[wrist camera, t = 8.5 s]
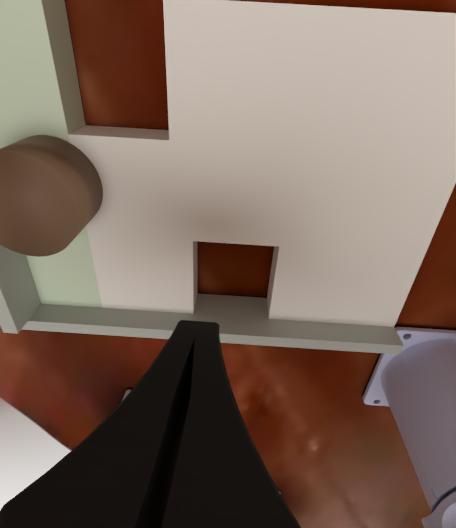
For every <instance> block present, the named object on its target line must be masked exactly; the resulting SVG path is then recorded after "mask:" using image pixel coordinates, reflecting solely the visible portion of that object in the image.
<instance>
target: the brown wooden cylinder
mask: <svg viewBox="0 0 456 528" xmlns="http://www.w3.org/2000/svg"><path fill="white" fill-rule="evenodd" d="M102 199H103V188H102V183H101V179H100V177H99V174H98V172H97V170H96V168H95V166H94V165H93V164H92V162H91V161H90V160H89V158H88V157H87V156H86V155H85V154H84V153H83V152H82V151H81V150H79V149H78V148H77V147H75V146H74V145H72V144H71V143H69V142H67V141H65V140H63V139H60V138H57V137H54V136H49V135H34V136H30V137H27V138H25V139H22V140H20V141H18V142H15V143H13V144H11V145H8V146H6V147H3V148H1V149H0V245H2V246H4V247H5V248H7V249H9V250H12V251H14V252H17V253H20V254H23V255H28V256H37V257H41V256H50V255H53V254H56V253H58V252H61V251H62V250H64V249H65V248H66V247H67V246H68V245H69V244H70V243H71V242H72V241H73V240H74V239H75V237H76V236H77V235H78V234H79V233H80V232H81V231H82V230H83V228H84V227H85V226H86V225H87V224H88V223H89V222H90V221H91V219H92V218H93V217H94V216H95V215H96V214H97V212H98V211H99V209H100V207H101V204H102Z"/></svg>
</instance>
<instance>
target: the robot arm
mask: <svg viewBox="0 0 456 528" xmlns="http://www.w3.org/2000/svg"><path fill="white" fill-rule="evenodd" d="M219 326H220V325H219V324H218V323H217V322H203V321H190V320H180V321H179V322H178V323H177V325H176V327H175V329H174V331H173V333H172V335H171V336H170V338H169V340H168V341H167V343H166V344H165V346H164V347H163V349H162V351H161V352H160V353H159V355H158V356H157V358H156V359H155V361H154V362H153V363H152V365H151V366H150V368H149V369H148V370H147V372H146V373H145V374H144V375H143V377H142V378H141V379H140V380H139V382H138V383H137V384H136V386H135V387H134V388H133V389H132V390H131V392H130V393H129V394H128V395H127V396H126V397H125V399H124V400H123V401H122V402H121V403H120V404H119V405H118V406H117V407H116V408H115V410H114V411H113V412H112V413H111V414H110V415H109V416H108V417H107V418H106V419H105V420H104V421H103V422H102V423H101V424H100V425H99V426H98V427H97V428H96V429H95V430H94V431H93V432H92V433H91V434H90V435H89V436H88V437H87V438H85V439H84V440H83V441H82V442H81V443H80V444H79V445H78V446H76V447H75V448H74V449H73V450H72V451H71V452H70V453H69V454H67V455H66V456H65V457H64V458H63V459H62V460H60V461H59V462H58V463H57V464H56V465H55V466H54V467H52V468H51V469H50V470H49V471H47V472H46V473H45V474H44V475H42V476H41V477H40V478H39V479H37V480H36V481H35V482H33V483H32V484H31V485H29V486H28V487H27V488H26V489H24V490H23V491H22V492H20V493H19V494H18V495H16V496H15V497H14V498H13V499H11V500H10V501H9V502H7V503H6V504H5V505H4V506H3V508H2V509H1V511H0V528H301V527H300V525H299V524H298V522H297V520H296V519H295V517H294V516H293V514H292V512H291V511H290V509H289V508H288V506H287V504H286V503H285V501H284V499H283V498H282V496H281V494H280V493H279V491H278V489H277V487H276V485H275V484H274V482H273V480H272V478H271V477H270V475H269V473H268V471H267V469H266V467H265V465H264V463H263V461H262V459H261V457H260V455H259V453H258V451H257V449H256V447H255V445H254V443H253V441H252V439H251V437H250V435H249V432H248V430H247V428H246V426H245V423H244V421H243V419H242V416H241V414H240V411H239V409H238V406H237V403H236V400H235V398H234V395H233V392H232V389H231V386H230V382H229V379H228V376H227V372H226V368H225V364H224V360H223V356H222V351H221V345H220V336H219ZM395 330H396V332H397V333H398V335H399V337H400V339H401V341H402V343H403V345H404V347H403V349H402V351H401V353H400V354H385V353H381V355H380V357H379V360H378V362H377V364H376V367H375V369H374V371H373V374H372V376H371V379H370V381H369V383H368V386H367V388H366V390H365V393H364V395H363V401H364V403H365V404H367V405H378V406H390V409H391V412H392V414H393V417H394V419H395V422H396V424H397V427H398V429H399V432H400V434H401V437H402V439H403V442H404V444H405V447H406V449H407V452H408V454H409V457H410V459H411V462H412V465H413V467H414V470H415V472H416V475H417V477H418V480H419V482H420V485H421V487H422V490H423V492H424V495H425V497H426V500H427V502H428V505H429V507H430V510H431V512H432V514H430V515H429V516H427V517H424V518H422V520H421V521H422V524H423V526H424V528H456V330H441V329H425V328H410V327H396V328H395ZM405 334H407V335H405Z"/></svg>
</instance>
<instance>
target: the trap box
mask: <svg viewBox="0 0 456 528" xmlns="http://www.w3.org/2000/svg"><path fill="white" fill-rule="evenodd" d="M163 9H164V31H165V54H166V77H167V99H168V122H169V130H158V129H141V128H124V127H108V126H91V125H86V124H85V118H84V112H83V106H82V100H81V95H80V89H79V83H78V77H77V71H76V65H75V59H74V53H73V47H72V42H71V36H70V30H69V24H68V18H67V12H66V6H65V0H0V149H1V148H3V147H6V146H8V145H11V144H13V143H15V142H18V141H20V140H22V139H25V138H27V137H30V136H34V135H49V136H54V137H57V138H60V139H63V140H65V141H67V142H69V143H71V144H72V145H74V146H75V147H77V148H78V149H79V150H81V151H82V152H83V153H84V154H85V155H86V156H87V157H88V158H89V160H90V161H91V162H92V164H93V165H94V166H95V168H96V170H97V172H98V174H99V177H100V179H101V183H102V188H103V199H102V204H101V207H100V209H99V211H98V212H97V214H96V215H95V216H94V217H93V218H92V219H91V221H90V222H89V223H88V224H87V225H86V226H85V227H84V228H83V230H82V231H81V232H80V233H79V234H78V235H77V236H76V237H75V239H74V240H73V241H72V242H71V243H70V244H69V245H68V246H67V247H66V248H65V249H64V250H62V251H61V252H58V253H56V254H53V255H50V256H41V257H37V256H28V255H23V254H20V253H17V252H14V251H12V250H9V249H7V248H5V247H4V246H2V245H0V325H1V328H2V330H3V332H4V333H17V334H18V333H19V332H20V331H21V329H24V330H39V331H54V332H69V333H84V334H99V335H114V336H129V337H144V338H159V339H169V338H170V336H171V335H172V333H173V331H174V329H175V327H176V325H177V323H178V322H179V321H180V320H190V321H203V322H217V323H218V324H219V325H220V326H219V336H220V343H234V344H249V345H265V346H280V347H295V348H310V349H325V350H340V351H355V352H370V353H385V354H400V353H401V351H402V349H403V347H404V345H403V343H402V341H401V339H400V337H399V335H398V333H397V332H396V330H395V328H394V326H395V324H396V322H397V319H398V317H399V315H400V312H401V310H402V308H403V305H404V303H405V301H406V298H407V296H408V294H409V291H410V289H411V286H412V284H413V282H414V279H415V277H416V275H417V272H418V270H419V268H420V265H421V263H422V261H423V258H424V256H425V254H426V251H427V249H428V247H429V244H430V242H431V240H432V237H433V235H434V233H435V230H436V228H437V225H438V223H439V221H440V218H441V216H442V214H443V211H444V209H445V207H446V204H447V202H448V200H449V197H450V195H451V193H452V190H453V188H454V186H455V183H456V13H443V12H425V11H407V10H390V9H372V8H354V7H336V6H318V5H300V4H283V3H265V2H247V1H229V0H163ZM197 241H199V242H215V243H231V244H246V245H262V246H274V250H273V257H272V264H271V271H270V279H269V286H268V293H267V298H260V297H245V296H230V295H214V294H199V293H198V269H197Z"/></svg>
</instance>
